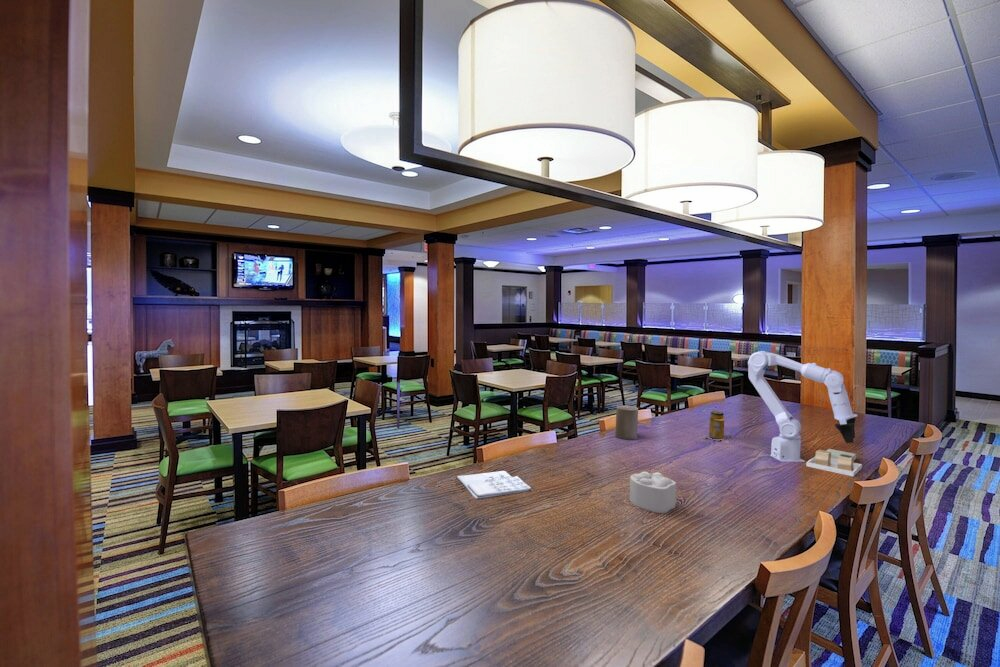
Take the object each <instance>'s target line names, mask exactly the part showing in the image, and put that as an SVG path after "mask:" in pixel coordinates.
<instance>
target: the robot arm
mask: <svg viewBox="0 0 1000 667" xmlns="http://www.w3.org/2000/svg"><path fill="white" fill-rule="evenodd" d="M770 366H780V367H784V368H787V369H790V370H793V371H796V372H799V373H800V374H801V376H802V377H804V378H806V379H809V380H811V381H815V382H817V383H820V384H822V383H823V384H824V385H825V386H826V389H827V391H828V392H827V395H828V397H829V401H830V404H831V409H832V412H833V418H834V420H837V422H838V423H835V424H834V426H835V428H836V429H837V430H838V432H840V434H841V436H842V439H843V440H844V442H845V443H846V444H852V443H853V444H854V439H855V438H856V433H855V423H856V417H858V414H857V413H854V412H853V409H852V406H851V403H850V399H849V395H848V392H847V390H846V385H845V383H844V376H843V374H842V373H841V372H839V371H837V370H832V369H831V368H829V367H828V368H826V367H822V366H820V365H817V363H816V362H812V363H811V362H808V363H805V364H803V363H800V362H798V361H795V360H793V359H790V358H787V357H785V356H783V355H780V354H776V353H774V352H768V351H766V350H759V351H756V352H753V353H752V354H751V355H750V356H749V359H748V360H747V367H748V370H747V371H748V379H749V381H750V383H751V384H752V385H753V387H754V388H755V390H756V391H757V393H758V395H759V396H760V397H761V398H762V400H763V402H764V403H765V405H766V406H767V408H768V409H769V411H770V412H771V414H772V415H773V416H774V418H775V422H776V424H777V425H778V428H779V430H778V431H779V435H778V436H773V437H772V438H771V439H772V440H771V442H770V443H771V448H770V454H769V456H770V457H772V458H774V459H775V460H778V461H779V462H784V463H786V462H789V463H790V462H792V463H793V462H801V463H802V462H806V460H805V459H802V458H801V449H802V447H801V445H802V443H801V442H802V437H801V435H800V432H801V429H802V423H800V421H799V420H798V419H796V418H795V417H794V416H793V415H792V414H791V413H790V411H788V410H787V408H786V407H785V406H784V404H783V403H782V401H781V399H780V398H779V397H778V396H777V394H776V392H774V389H773V388H772V387H771V385H770V384H769V382H768V381H767V380H766V378H765V377H764V376H765V372H766V368H768V367H770Z"/></svg>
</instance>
